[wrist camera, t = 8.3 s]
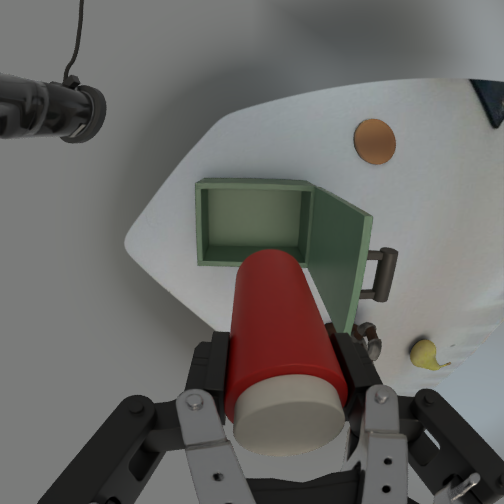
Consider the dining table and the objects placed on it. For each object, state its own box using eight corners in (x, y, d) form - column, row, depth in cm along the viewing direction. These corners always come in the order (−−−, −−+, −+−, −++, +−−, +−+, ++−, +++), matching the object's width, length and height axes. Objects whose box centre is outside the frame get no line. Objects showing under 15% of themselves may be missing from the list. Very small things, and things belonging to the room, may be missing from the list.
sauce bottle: (223, 267, 19) (193, 417, 7) (285, 236, 18) (336, 369, 7) (255, 318, 20) (259, 469, 9) (313, 292, 19) (367, 435, 8)
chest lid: (340, 343, 24) (386, 339, 24) (364, 215, 20) (415, 219, 20) (307, 269, 41) (339, 269, 41) (314, 186, 36) (349, 189, 37)
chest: (205, 248, 48) (197, 265, 41) (204, 177, 44) (195, 183, 37) (300, 250, 48) (309, 268, 41) (306, 180, 44) (317, 186, 37)
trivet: (345, 128, 41) (347, 128, 40) (382, 113, 40) (384, 112, 39) (365, 171, 44) (366, 171, 43) (400, 154, 42) (402, 154, 42)
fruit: (401, 351, 58) (421, 384, 47) (421, 328, 56) (445, 359, 44) (414, 358, 59) (434, 389, 48) (433, 337, 57) (456, 366, 46)
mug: (342, 366, 58) (360, 414, 44) (298, 354, 57) (309, 406, 43) (381, 314, 54) (412, 358, 40) (337, 296, 52) (363, 343, 38)
